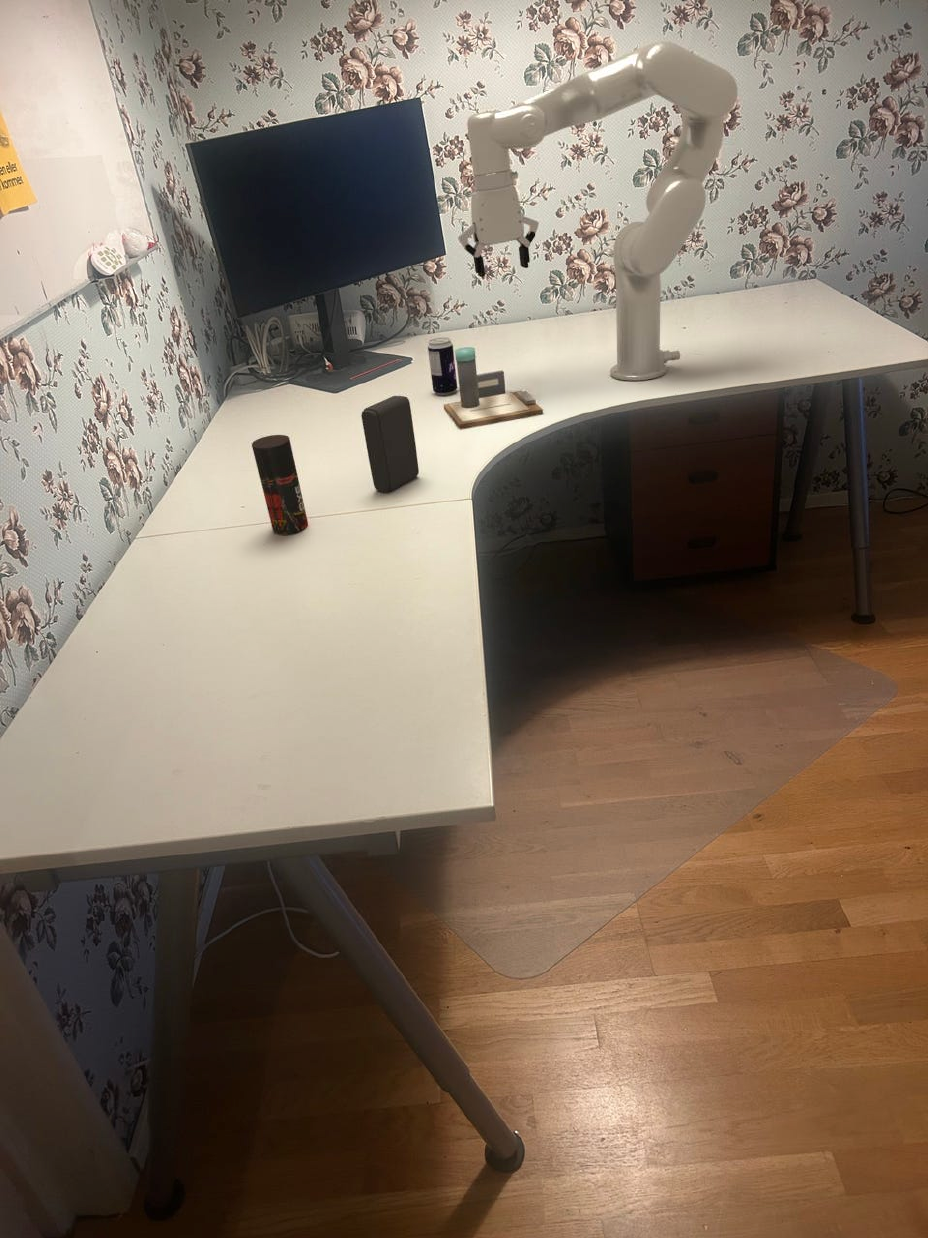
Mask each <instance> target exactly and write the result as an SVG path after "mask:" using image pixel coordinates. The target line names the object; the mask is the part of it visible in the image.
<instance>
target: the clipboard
mask: <svg viewBox="0 0 928 1238" xmlns="http://www.w3.org/2000/svg"><path fill="white" fill-rule="evenodd" d="M479 401H480V405H479V406H477V407H474V408H463V407H461V400H459V401H455V402H450V403H444V404H443V405H442V406H443V410H444V411H445V412H446V413H447V415H448V414H449V415H448V416H449V417H450V419H451V418H452V419H451V420H452V421H453V423H454V424H455V425H456V426H457V428H458V429H459V430H464V429H468V428H474V427H479V426H480V427H481V426H485V425H491V424H496V423H501V422H507V421H511V420H518V419H524V418H528V417H534V416H535V417H536V416H539V415H543V414H544V409H543V408H542V407H541V406H540V405H539V404H538V403H537V400H536V398H535V397H534V396H532V395H531V394H530V393H529V392H528V391H527V390H524V391H523V390H517V391H511V392H505V394H499V395H493V396H488V397H482V398H479Z"/></svg>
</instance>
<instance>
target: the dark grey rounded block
mask: <svg viewBox="0 0 928 1238" xmlns="http://www.w3.org/2000/svg"><path fill="white" fill-rule="evenodd" d="M360 416H361V421H362V426H363V427H362V428H363V433H364V439H365V444H366V449H367V456H368V462H369V467H370V472H371V477H372V483H373V486H374V488H375V490H376V491H377V492H382V493H389V492H390V493H391V492H393V491H394V490H396V489H398V488H399V487H400V488H401V486H404V485H405V484H407V483H409V482H411V481H412V480H414V479H416V478H417V476H418V475H419V473H420V471H419V469H420V468H419V462H418V453H417V447H416V446H417V445H416V438H415V431H414V422H413V415H412V409H411V403H410V399H409V398H408V396H405V395H404V396H403V395H393V396H390V397H388V398H386V399H384V400H382V401H379V402H377V403H374V404H373V405H371V406H368V407H365V408H364V409H363V411H362V412H361V415H360Z"/></svg>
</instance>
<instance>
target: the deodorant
mask: <svg viewBox="0 0 928 1238" xmlns="http://www.w3.org/2000/svg"><path fill="white" fill-rule="evenodd" d="M251 447H252V451H253V456H254V461H255V464H256V468H257V472H258V476H259V480H260V484H261V488H262V492H263V496H264V500H265V501H264V502H265V504H266V508H267V513H268V517H269V520H270V524H271V528H272V532H273V533H274V534H276V535H278V536H290V535H295V534H298V533H301V532H303V531H305V530H306V529H307V528H308V526H309V521H308V516H307V513H306V507H305V503H304V499H303V494H302V490H301V489H302V488H301V485H300V481H299V477H298V471H297V467H296V462H295V458H294V453H293V448H292V445H291V440H290V437H289V435H285V434H273V435H271V434H270V435H267V436H263V437H260V438H258V439H255V440H254V441H253V442H252V443H251Z"/></svg>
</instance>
